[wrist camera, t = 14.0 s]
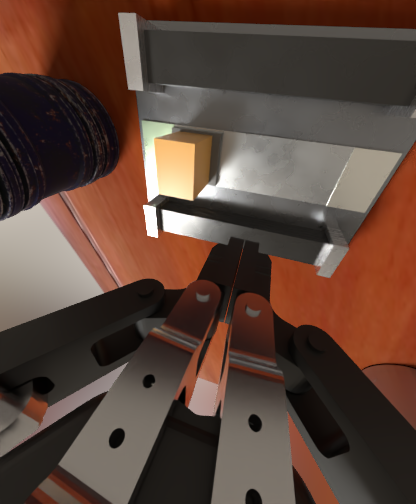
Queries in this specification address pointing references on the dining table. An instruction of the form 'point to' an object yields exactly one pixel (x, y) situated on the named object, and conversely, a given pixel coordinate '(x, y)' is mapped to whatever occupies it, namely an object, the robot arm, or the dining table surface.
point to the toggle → (187, 162)
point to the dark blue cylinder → (50, 139)
